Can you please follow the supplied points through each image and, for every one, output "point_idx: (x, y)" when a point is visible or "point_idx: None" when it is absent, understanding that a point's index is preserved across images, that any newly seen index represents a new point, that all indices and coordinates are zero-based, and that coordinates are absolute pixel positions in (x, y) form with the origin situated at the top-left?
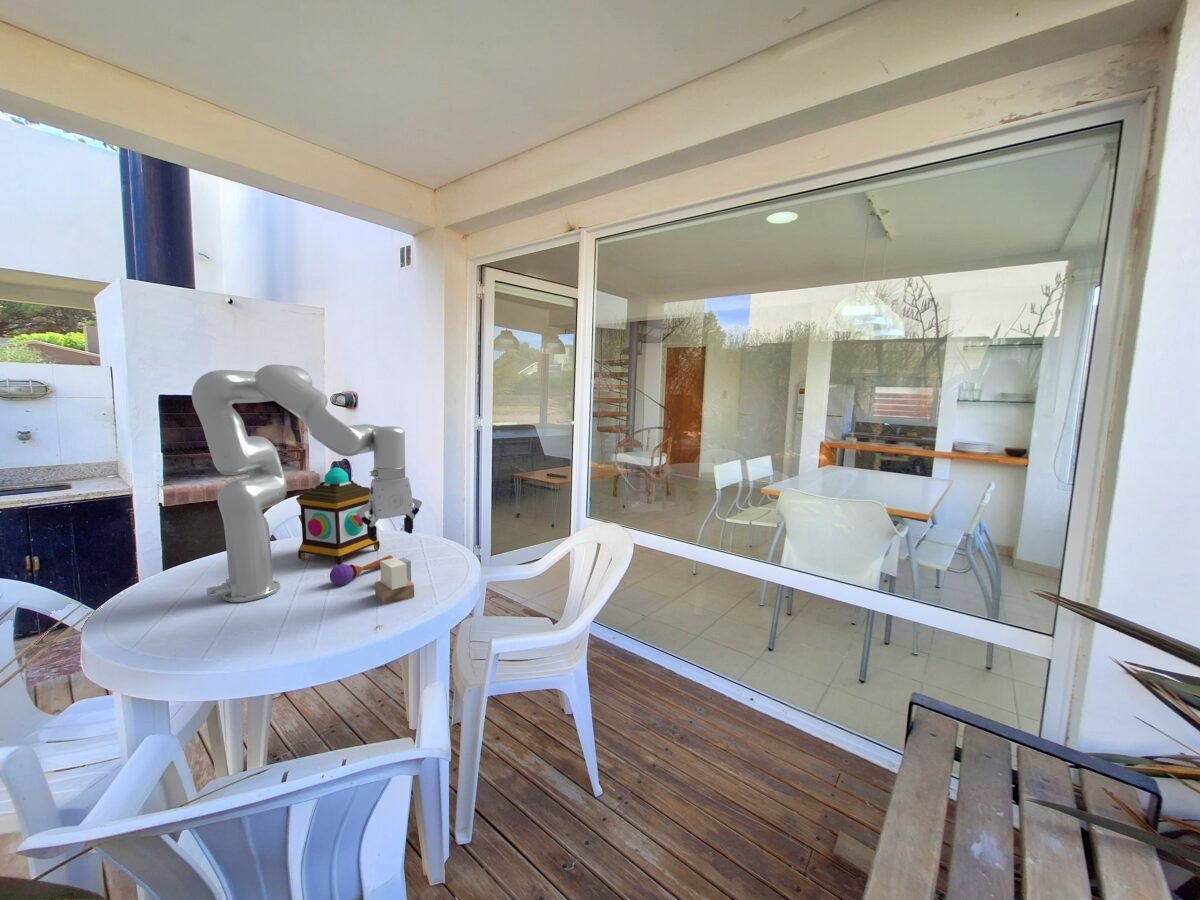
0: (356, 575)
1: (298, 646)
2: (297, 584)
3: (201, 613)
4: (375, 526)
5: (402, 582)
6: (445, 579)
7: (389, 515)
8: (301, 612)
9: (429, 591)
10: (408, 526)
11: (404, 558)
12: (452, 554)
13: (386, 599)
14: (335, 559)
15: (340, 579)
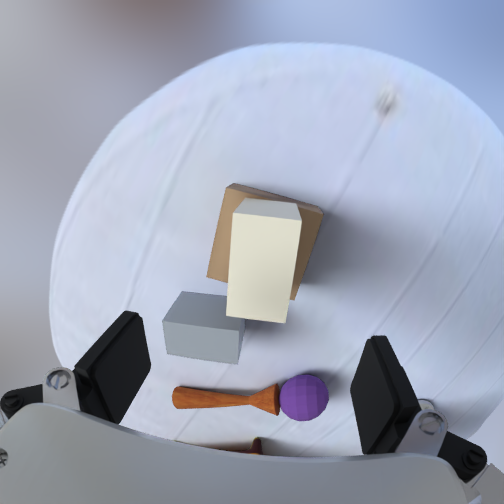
0: (274, 385)
1: (493, 178)
2: (349, 419)
3: (462, 394)
4: (406, 408)
5: (260, 201)
6: (119, 226)
7: (316, 478)
8: (427, 312)
9: (183, 187)
10: (122, 352)
11: (168, 348)
12: (66, 333)
13: (309, 205)
14: (261, 450)
15: (319, 382)
